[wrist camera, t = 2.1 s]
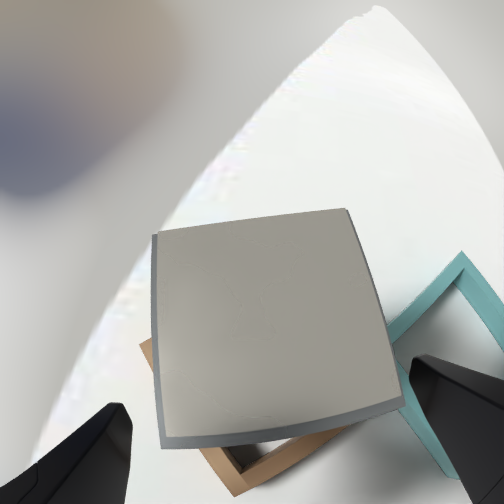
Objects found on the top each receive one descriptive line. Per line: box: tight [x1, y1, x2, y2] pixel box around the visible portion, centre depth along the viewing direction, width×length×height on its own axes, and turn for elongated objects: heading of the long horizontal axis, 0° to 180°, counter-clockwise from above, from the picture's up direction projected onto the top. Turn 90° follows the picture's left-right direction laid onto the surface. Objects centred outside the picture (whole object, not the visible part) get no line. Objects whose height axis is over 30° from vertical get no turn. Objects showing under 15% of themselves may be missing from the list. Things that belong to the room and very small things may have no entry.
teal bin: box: [387, 251, 504, 479], centre depth 15 cm, size 12×11×2 cm
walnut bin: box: [139, 338, 350, 497], centre depth 16 cm, size 10×10×2 cm
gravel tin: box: [151, 208, 406, 449], centre depth 11 cm, size 5×5×12 cm
